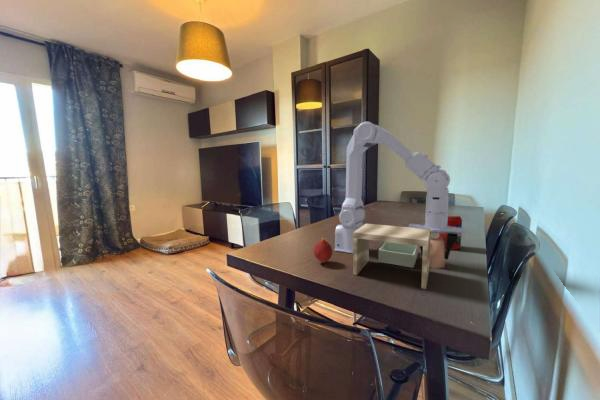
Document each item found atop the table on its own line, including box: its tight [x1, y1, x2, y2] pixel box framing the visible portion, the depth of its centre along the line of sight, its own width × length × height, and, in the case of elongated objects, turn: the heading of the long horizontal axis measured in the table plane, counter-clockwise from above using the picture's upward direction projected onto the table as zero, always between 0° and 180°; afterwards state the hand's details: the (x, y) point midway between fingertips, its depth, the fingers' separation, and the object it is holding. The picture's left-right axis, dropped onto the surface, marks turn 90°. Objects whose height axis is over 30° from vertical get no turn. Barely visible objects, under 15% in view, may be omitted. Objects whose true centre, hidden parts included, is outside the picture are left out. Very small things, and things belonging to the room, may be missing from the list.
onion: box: [313, 237, 333, 264], centre depth 77 cm, size 6×6×8 cm
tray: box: [377, 242, 419, 268], centre depth 80 cm, size 10×15×4 cm, turn 149°
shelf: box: [352, 223, 432, 290], centre depth 68 cm, size 18×12×12 cm, turn 59°
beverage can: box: [438, 212, 463, 250], centre depth 88 cm, size 7×7×12 cm
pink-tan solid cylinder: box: [429, 235, 446, 269], centre depth 74 cm, size 6×6×8 cm
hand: (434, 256), depth 74 cm, fingers closed on pink-tan solid cylinder, 6 cm apart
